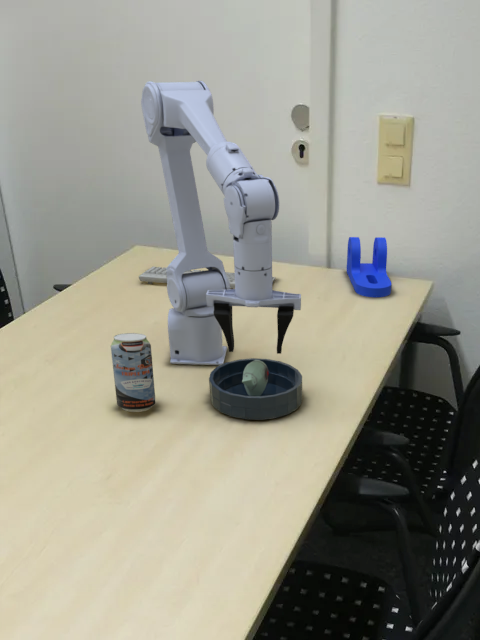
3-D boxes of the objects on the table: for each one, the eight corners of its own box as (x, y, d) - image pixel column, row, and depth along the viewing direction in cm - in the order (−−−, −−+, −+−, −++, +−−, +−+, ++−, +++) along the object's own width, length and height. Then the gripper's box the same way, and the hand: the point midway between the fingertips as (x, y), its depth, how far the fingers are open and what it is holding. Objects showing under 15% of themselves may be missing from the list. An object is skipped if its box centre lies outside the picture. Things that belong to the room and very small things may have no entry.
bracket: (346, 271, 189) (348, 233, 183) (380, 272, 190) (382, 233, 185) (357, 297, 174) (359, 256, 169) (393, 297, 176) (397, 257, 170)
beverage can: (118, 419, 123) (107, 347, 116) (117, 398, 128) (107, 328, 121) (158, 416, 124) (151, 344, 117) (156, 395, 130) (148, 326, 123)
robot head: (250, 387, 134) (249, 350, 130) (273, 389, 134) (273, 352, 130) (238, 407, 128) (237, 369, 124) (263, 410, 127) (262, 372, 123)
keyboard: (275, 279, 181) (275, 270, 180) (268, 294, 173) (268, 285, 172) (152, 269, 182) (151, 261, 181) (139, 284, 173) (138, 275, 172)
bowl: (205, 419, 124) (203, 395, 122) (216, 379, 136) (214, 356, 134) (300, 422, 125) (300, 399, 123) (302, 382, 137) (303, 360, 135)
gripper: (201, 271, 114) (207, 358, 122) (300, 275, 115) (299, 362, 123) (207, 257, 120) (212, 341, 128) (301, 261, 120) (300, 344, 128)
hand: (255, 350), depth 126 cm, fingers open, 7 cm apart
